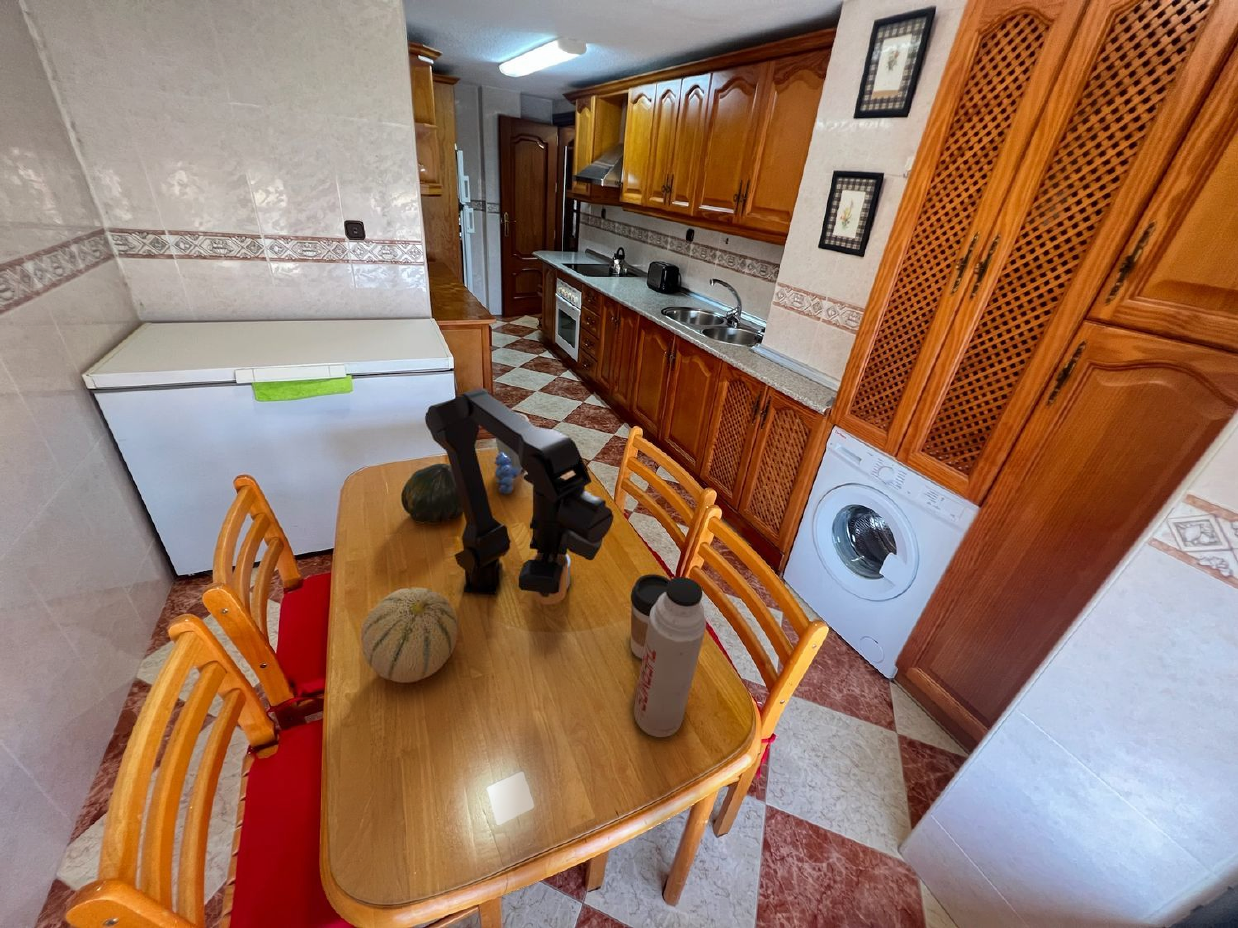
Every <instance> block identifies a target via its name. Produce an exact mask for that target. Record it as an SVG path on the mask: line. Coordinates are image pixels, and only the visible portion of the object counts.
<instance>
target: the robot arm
mask: <svg viewBox="0 0 1238 928" xmlns="http://www.w3.org/2000/svg"><path fill="white" fill-rule="evenodd" d="M516 413H517V412H515V411H514V410H512V409H511V408H509V407H507V405H505V404H503V403H502V402H500V401H499V400H498V399H496V398H495V397H493V396H492V394H491V392H490V391H489V390H488V389H486V388H482V387H480V388H476V389H472V390H468V391H465V392H462V393H460V394H458V396H456V397H454V398H453V399H449V400H446V401H443V402H439V403H436V404H433V405H430V406H429V407H428V409H427V411H426V412H425V416H424V420H425V425H426V427H427V430H429V432H430V434H431V437H432V439H433V441H434V442H435V443H437V444H438V445H439V446H440V447H441V448H443V450H444V451H445V452H446V454H447V458H448V462H449V465H450V466H451V469H452V473H453V476H454V480H455V483H456V487H457V490H458V494H459V497H460V501H461V505H462V508H463V515H464V518H465V522H466V523H465V527H464V529H463V533H462V536H461V541H462V542H461V543H462V546H463V547H462V548H463V550H461V551H459V552H458V553H455V554H454V558H455V561H456V564H457V566H459V567H460V568H462V569H463V570H464V574H465V584H464V586H463V589H462V590H463V592H465V593H474V594H484V595H485V594H486V595H495V594H496V592H497V590H498V588H499V587H500V585H501V584H502V581H503V578H504V572H503V571H504V570H503V563H502V562H500V558H502V557H504V556H506V555H507V553H508V552H509V550H510V549H511V543H512V541H511V539H510V536H509V533H508V532H509V531H508V527H507V525H505V524H501V522H499V521H498V520H497V519H496V518H495V517H494V515H493V512H492V507H491V504H490V501H489V497H488V493H487V489H486V485H485V481H484V477H483V473H482V470H481V465H480V462H479V458H478V454H477V451H476V443H477V440H478V437H479V433H480V427H481V428H482V429H483V430H485V431H486V432H487V433H489V434H490V435H492V436H493V437H494V438H495V437H496V438H497V439H498V440H500V441H501V442H502V443H504V444H505V445H506V446H508V447H509V448H510V449H512V450H513V451H514V452H515V453H516V454H517V455H518V457H519V461H520V465H521V467H522V468H523V470H524V472H526V473H525V475H523V476H522V479H523V480H524V481H526V482H527V483H529V484H531V485H532V517H531V519H530V522H529V529H530V530H532V535H531V536H532V537H531V538H530V542H529V549H530V550H536V554H538V555H543V556H542V559H541V561H539V560H532V559H531V558H530V559H528V560H526V561H525V562H523V564H522V567H521V570H520V572H519V576H518V588H519V589H520V590H521V591H525V592H532V591H533V592H539V593H540V595H541V596H542V597H549V594H556V593H558V592H559V589H560V585H561V581H562V576H563V572H564V570H563V567H562V566H561V565H560V564H559V563H558V562H557V559H558V555H559V554H561V555H566V554H568V551H569V552H570V553H573V554H575V555H577V556H580V557H582V558H584V559H585V560H587V561H593V560H594V559H595V557H596V556H597V554H598V552H599V550H600V549H601V547H602V544H603V539H604V538H605V537H606V536H607V534H608V533H609V531H610V529H611V527H612V525H613V521H614V514H613V511H612V509H611V508H610V507H608V506H606V505H607V502H606V500H605V499H603V498H602V497H599V496H596V495H594V494H592V493H590V491H589V492H588V491H587V490H586V486H587V485H590V484H591V483H592V479H591V476H590V474H589V469H588V467H587V466H586V464H585V462H584V460H583V457H582V455H581V452H580V451H579V448H578V446H577V444H576V442H575V441H574V440H573V439H572V438H570V437H569V436H568V435H565V434H563V433H561V432H559V431H557V430H554V429H550V428H545V427H544V428H543V427H538V426H536V425H534V424H533V423H531V422H530V423H529V422H528V421H526V420H525V419H523V418H522V417H521V416H519V415H518V414H516ZM570 472H573V473H574V475H572V476H569V477H568V478H566V479H565V478H563V476H565V475H567V474H568V473H570ZM551 554H552V556H551ZM550 557H551V559H550ZM549 560H550V562H549Z"/></svg>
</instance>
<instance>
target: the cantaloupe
mask: <svg viewBox="0 0 1238 928" xmlns="http://www.w3.org/2000/svg"><path fill="white" fill-rule="evenodd" d="M458 627H459V626H458V617H457V614H456V612H455V611H454V609H453V607H452V606H451V603H450V602H449V600H448V599H447V598H446V597H445V596H443V595H441V594H440V593H438V592H435V591H433V590H430V589H428V588H425V587H417V586H416V587H414V586H413V587H406V588H400V589H398V590H395V591H393V592H391V593H390V594H387V595H386V596H385V597H383V599H381V600H380V601H379V602H378V604H377V605H376V606H375V607H374V608H372V609H371V610H370V611H369V613H368V615H367V617H366V618H365V620H364V622H363V624H362V628H361V634H360V635H361V636H360V639H361V646H362V648H361V649H362V655H363V656H364V659H365V661H366V664H367V665H368V666H369V667H370V668H371V669H372V670H373V671H374V672H375V673H376V674H377V675H378V676H379V677H381V678H384V679H386V680H390V681H393V682H397V683H413V682H418V681H420V680H423V679H425V678H428V677H430V676H431V675H433V674H435V673H436V672H437V671H438V670H440V669H441V668H442V667H443V666H444V664H445V663H446V662H447V660H448V659H450V656H451V655H452V654H453V651H454V649H455V647H456V644H457V640H458V629H459V628H458Z"/></svg>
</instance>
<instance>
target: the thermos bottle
mask: <svg viewBox="0 0 1238 928" xmlns="http://www.w3.org/2000/svg"><path fill="white" fill-rule="evenodd" d="M669 580H670V581H669V582H668V584H667V587H666V592H665V593H663V594H662V595H661V596H660V597H659V599H658V600H657V602H656V604H655V605H654V606H653V607H652V609H651V612H650V617H649V623H648V629H647V635H646V641H645V646H644V652H643V659H641V663H642V664H641V668H640V671H639V672H640V673H639V677H638V683H637V689H636V695H635V701H634V707H633V715H634V719H635V722H636V724H637V725H638V727H639V728H640V729H641V730H642V731H643V732H644V733H646V734H647V735H650V736H652V737H655V738H667V737H670V736H672V735H674V734H676V733H677V732H678V730H679V729H680V728H681V725H682V723H683V720H684V715H685V711H686V708H687V704H688V700H689V694H690V691H691V687H692V684H693V680H694V677H695V673H696V668H697V664H698V661H699V660H698V659H699V657H700V652H701V649H702V644H703V640H704V636H705V633H706V629H707V619H706V616H705V607H704V605H703V603H702V597H703V589H702V586H701V585H700V584H699V583H698V582H697V581H695V580H694V579H693V578H689V577H686V576H677V577H674V578H671V579H669Z"/></svg>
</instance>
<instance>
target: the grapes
mask: <svg viewBox="0 0 1238 928" xmlns="http://www.w3.org/2000/svg"><path fill="white" fill-rule="evenodd" d="M510 462H511V459H510V458H509V457H508V456H507V455H506V454H505V453H503V452H501V453H499V452H498V454H497V455H496V457H495V461H494V464H495V465H496V466H497V468H496V470H495V471H494V473H495V474H494V476H495V477H496V478H497V479H498V480H497V481H496V484H497V485H498V486H499V488H498V491H499V492H500V493H501V494H502V495H503V494H505V495H509V494H511V493H512V491H513V490H514V486H513V485H514V482H515V481H516V480H515V478H517V477H518V476H519V475H520V474H521V473H522V470H521V471H520V470H519V469H518V468H516V467H512V466H511V464H509V463H510Z"/></svg>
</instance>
